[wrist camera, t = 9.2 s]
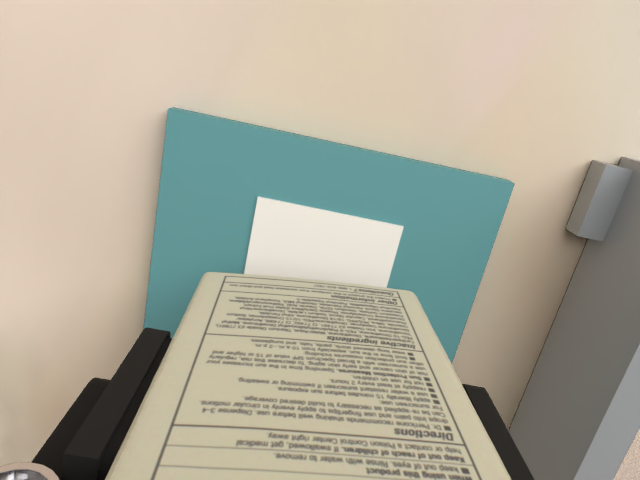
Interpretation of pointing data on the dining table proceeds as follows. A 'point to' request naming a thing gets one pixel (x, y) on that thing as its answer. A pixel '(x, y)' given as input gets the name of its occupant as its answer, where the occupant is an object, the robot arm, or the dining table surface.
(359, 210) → the pad
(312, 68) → the dining table surface
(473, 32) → the dining table surface
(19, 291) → the dining table surface
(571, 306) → the grey drawer handle
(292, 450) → the skincare box
